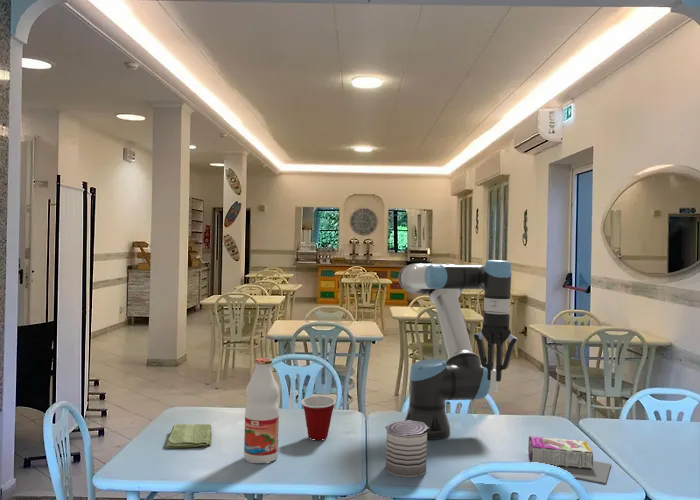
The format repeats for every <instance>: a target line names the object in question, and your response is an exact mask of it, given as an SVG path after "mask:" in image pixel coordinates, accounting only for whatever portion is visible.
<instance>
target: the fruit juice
mask: <svg viewBox="0 0 700 500" xmlns="http://www.w3.org/2000/svg"><path fill="white" fill-rule="evenodd" d="M253 363H254V367H255V368H254V371H253V374H252V377H251V379H250V381H249V382H248V384H247V386H246V388H245V389H246V390H245V391H246V392H245V395H246V398H247V402H246V405H245V410H244V438H243V439H244V440H243V441H244V443H243V445H244V447H243V449H244V450H243V458H244V460H245V461H246V462H248V463H250V464H254V463H265V464H268V463H267V462H270V463H272V462H271V461H273V462H275V461H276V460H277V458H278V455H279V423H280V422H279V418H280V409H279V403H278V397H279V393H280V389H279V385H278V383H277V381H276V379H275V377H274V375H273V371H272V370H273V369H272V365H273V360H272V358H271V357H257V358H255V359H254V361H253ZM274 460H275V461H274Z"/></svg>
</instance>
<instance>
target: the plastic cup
mask: <svg viewBox="0 0 700 500" xmlns="http://www.w3.org/2000/svg"><path fill="white" fill-rule="evenodd" d="M336 402H337V401H336V399H335V398H333V397H332V396H328V395H311V396H308V397H305V398H302V400H301V401H300V403H301V405H302V408H303V411H304V416H305V424H306V429H307V436H308V438H311V439H315V440H321V441H323V440H322V439H325V440H327V439H326V438H328V436H329V430H330V427H331V420H332V415H333V411H334V408H335V407H334V406H335V404H336ZM311 439H310V440H311ZM315 440H314V441H315Z"/></svg>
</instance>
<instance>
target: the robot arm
mask: <svg viewBox="0 0 700 500" xmlns="http://www.w3.org/2000/svg"><path fill="white" fill-rule="evenodd" d="M511 264H512V263H511V262H510V260H509V261H508V260H498V259H488V260H486V261H485V264H453V263H448V262H445V263H428V262H427V263H426V262H425V263H423V262H417V263H416V262H415V263H411V264H408V265H405V266H404V267H402V268H401V269H400V271H399V272H398V283H399V285H400V287H401V288H402V289H403V290H404V291H406V292H407V293H411V294H414V295H427V296H428V299H429V301H430V302H431V304H434V305H435V309H436V312H437V318H438V321H439V325H440V330H441V334H442V337H443V342H444V346H445V350H446V355H447V359H446V360H445V359H440V358H427V359H422V360H417V361H415V362H413V364H411V367H410V371H409V399H408V400H409V405H408V410H407V413H406V415H405V419H404V421H405V420H412V421H418V422H424V423H425V424H426V425H427V426H428V427H429V428H428V429H427V440H441V439H445V438H448V437H449V436H450V435H451V426H450V422H449V420H448V415H447V412H446V401H468V400H469V401H470V400H471V401H474V400H482V399H485V398H486V397H487V395H489V392H490V393H492V394H496V393H497V392H498V390H499V388H498V387H499V386H498V383H499V382H501V381H502V375H503V374H502V373H503V372H502V371H503V370H506V369H507V368H509V365H510V361H511V357H512V355H513V351H514V348H515V345H516V344H517V343H518V341H519V337H517V336H514V335H513V334H512V332H511V329H510V319H511V318H510V314H509V313H510V312H511V286H512V285H511V284H512V265H511ZM463 290H483V292H484V295H483V311H485V312H483V321H482V324H483V325H482V328H481V330H480V331H479V332H478V333H477V332H476V333H475V334H474V335H473V339H474V340H475V341H476V344H477V345H476V346H477V350H478V354H477V353H475V352H474V351H473V348H472V347H473V346H472V344H471V340H470V337H469V333H468V329H467V326H466V321H465V318H464V315H463V311H462V307H461V304H460V300H459V299H460V297H461V294H462V292H463ZM483 339H485V340H486V342H487V354H486V349H485V343H484V340H483ZM507 339H508V346H507V349H506V352H505V355H504V356H505V357H504V359H503V349H504V343H505V342H506V341H507ZM495 345H496V357H495ZM494 357H495V358H496V362H494V361H495V360H494V359H495V358H494ZM503 360H504V361H503ZM495 363H496V364H495ZM494 365H495V366H494Z"/></svg>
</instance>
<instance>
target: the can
mask: <svg viewBox="0 0 700 500" xmlns="http://www.w3.org/2000/svg"><path fill="white" fill-rule="evenodd" d="M384 428H385V429H386V443H385V444H386V445H385V451H386V452H385V472H386V471H387V472H386V473H388V472H389V474H390V473H391V474H390V475H392V474H393V475H392V476H394V475H395V476H396V477H400V476H401V478H407V477H408V478H416V477H418V478H419V477H422V476H423V475H424V474H427V453H428V451H427V450H428V446H427V445H428V439H427V429H428V428H429V427H428V426H427V425H426V424H425V423H424V422H418V421H412V420H405V419H404V420H399V421H397V420H396V421H392V422H390V423H389V424H388V425H386V426H384Z"/></svg>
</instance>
